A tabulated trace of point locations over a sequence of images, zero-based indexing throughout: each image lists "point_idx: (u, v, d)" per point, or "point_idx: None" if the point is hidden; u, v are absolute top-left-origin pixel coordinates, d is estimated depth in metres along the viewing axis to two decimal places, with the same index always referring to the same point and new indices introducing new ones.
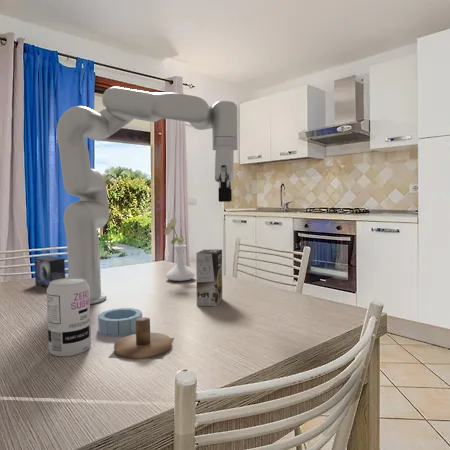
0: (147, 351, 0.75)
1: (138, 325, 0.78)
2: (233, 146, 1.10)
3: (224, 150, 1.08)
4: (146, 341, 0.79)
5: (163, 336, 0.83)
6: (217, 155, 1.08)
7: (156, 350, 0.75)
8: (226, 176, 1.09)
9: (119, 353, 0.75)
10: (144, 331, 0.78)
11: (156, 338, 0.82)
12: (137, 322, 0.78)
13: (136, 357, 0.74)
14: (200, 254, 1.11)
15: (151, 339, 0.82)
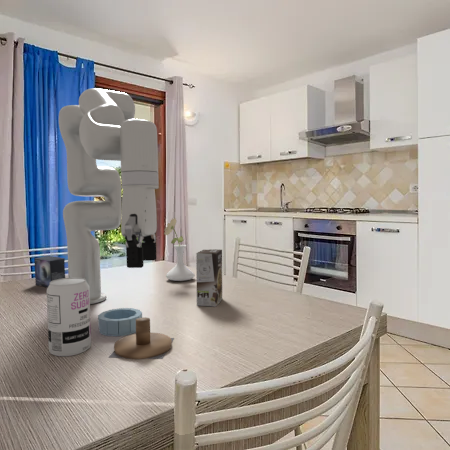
0: (147, 351, 0.75)
1: (138, 325, 0.78)
2: (150, 185, 0.75)
3: (134, 192, 0.73)
4: (146, 341, 0.79)
5: (163, 336, 0.83)
6: (124, 199, 0.73)
7: (156, 350, 0.75)
8: (139, 229, 0.74)
9: (119, 353, 0.75)
10: (144, 331, 0.78)
11: (156, 338, 0.82)
12: (137, 322, 0.78)
13: (136, 357, 0.74)
14: (200, 254, 1.11)
15: (151, 339, 0.82)
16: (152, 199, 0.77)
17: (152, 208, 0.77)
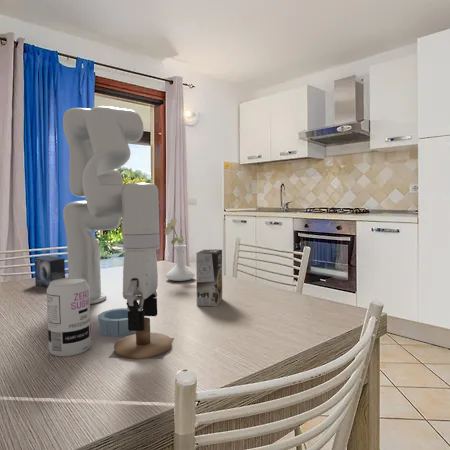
0: (147, 351, 0.75)
1: None
2: (151, 247, 0.76)
3: (135, 256, 0.74)
4: (146, 341, 0.79)
5: (163, 336, 0.83)
6: (125, 263, 0.74)
7: (156, 350, 0.75)
8: (140, 291, 0.75)
9: (119, 353, 0.75)
10: (144, 331, 0.78)
11: (156, 338, 0.82)
12: None
13: (136, 357, 0.74)
14: (200, 254, 1.11)
15: (151, 339, 0.82)
16: (153, 260, 0.78)
17: (153, 268, 0.78)
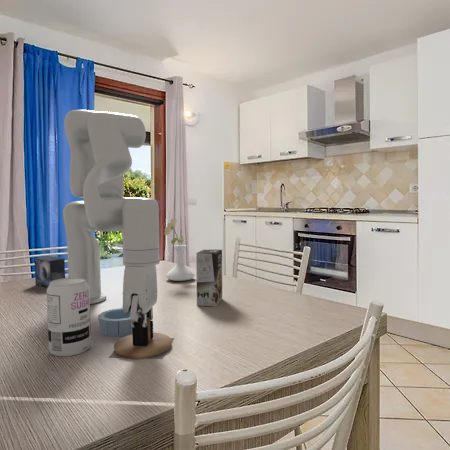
0: (147, 351, 0.75)
1: None
2: (151, 263, 0.76)
3: (135, 271, 0.74)
4: None
5: (163, 336, 0.83)
6: (125, 278, 0.74)
7: (156, 350, 0.75)
8: None
9: (119, 353, 0.75)
10: None
11: (156, 338, 0.82)
12: None
13: (136, 357, 0.74)
14: (200, 254, 1.11)
15: (150, 339, 0.82)
16: (153, 274, 0.79)
17: (153, 283, 0.79)
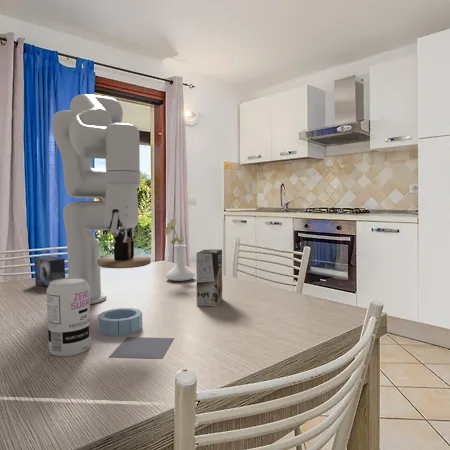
0: (127, 262, 0.82)
1: None
2: (131, 183, 0.83)
3: (116, 189, 0.81)
4: None
5: (143, 256, 0.90)
6: (107, 196, 0.81)
7: (135, 262, 0.83)
8: (121, 223, 0.83)
9: (101, 264, 0.83)
10: None
11: (137, 257, 0.89)
12: None
13: (116, 266, 0.81)
14: (200, 254, 1.11)
15: None
16: (133, 196, 0.86)
17: (133, 204, 0.86)
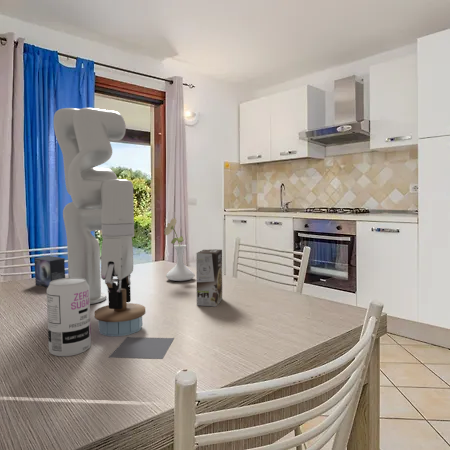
0: (122, 315, 0.86)
1: None
2: (125, 235, 0.87)
3: (111, 242, 0.85)
4: (122, 308, 0.90)
5: (138, 306, 0.94)
6: (103, 248, 0.86)
7: (130, 315, 0.87)
8: (116, 273, 0.87)
9: (98, 317, 0.87)
10: None
11: (132, 307, 0.93)
12: None
13: (112, 320, 0.85)
14: (200, 254, 1.11)
15: (127, 307, 0.93)
16: (128, 246, 0.90)
17: (128, 254, 0.90)
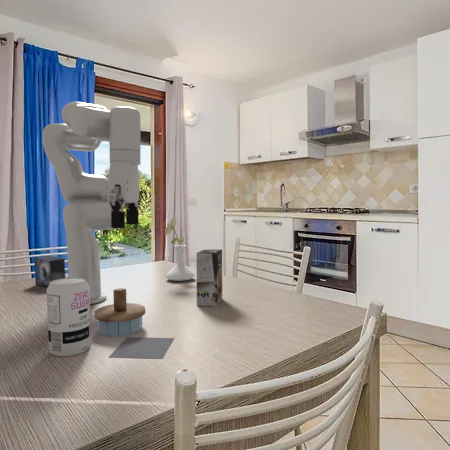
0: (122, 315, 0.86)
1: (115, 294, 0.90)
2: (132, 161, 0.91)
3: (118, 166, 0.89)
4: (122, 308, 0.90)
5: (138, 306, 0.94)
6: (110, 172, 0.90)
7: (130, 315, 0.87)
8: (122, 197, 0.91)
9: (98, 317, 0.87)
10: (120, 299, 0.90)
11: (132, 307, 0.93)
12: (114, 291, 0.90)
13: (112, 320, 0.85)
14: (200, 254, 1.11)
15: (127, 307, 0.93)
16: (134, 173, 0.94)
17: (134, 180, 0.94)
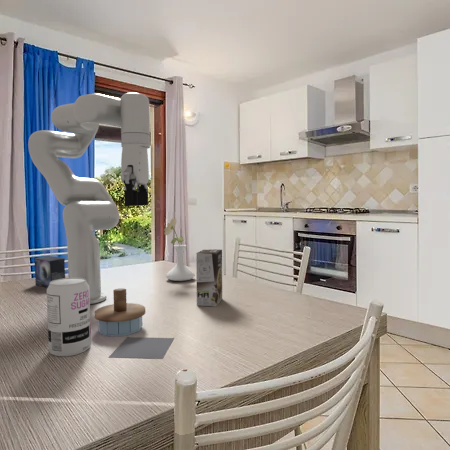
0: (122, 315, 0.86)
1: (115, 294, 0.90)
2: (143, 143, 0.98)
3: (131, 148, 0.96)
4: (122, 308, 0.90)
5: (138, 306, 0.94)
6: (123, 154, 0.96)
7: (130, 315, 0.87)
8: (134, 177, 0.97)
9: (98, 317, 0.87)
10: (120, 299, 0.90)
11: (132, 307, 0.93)
12: (114, 291, 0.90)
13: (112, 320, 0.85)
14: (200, 254, 1.11)
15: (127, 307, 0.93)
16: (145, 155, 1.00)
17: (145, 162, 1.00)
